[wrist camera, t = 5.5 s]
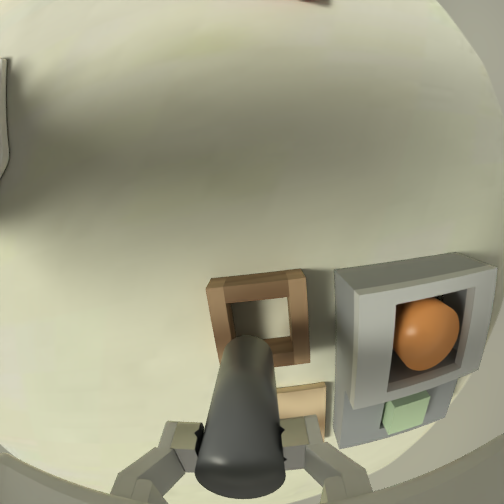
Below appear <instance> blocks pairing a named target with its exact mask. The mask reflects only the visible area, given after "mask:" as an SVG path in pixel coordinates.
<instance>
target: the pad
mask: <svg viewBox="0 0 504 504" xmlns="http://www.w3.org/2000/svg"><path fill="white" fill-rule="evenodd" d="M276 390H277V399H278V408H279V417H280V419H283V418H292V417H299V416H303V417H304V416H307V415H314V414H316V415H317V419H318V423H319V427H320V431H321V435H322V439H323V442H324V435H325V412H326V385H325V382H321V383H314V384H307V385H300V386H292V387H284V388H276Z"/></svg>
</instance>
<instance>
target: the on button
mask: <svg viewBox="0 0 504 504" xmlns="http://www.w3.org/2000/svg"><path fill="white" fill-rule="evenodd" d="M430 397H431V396H430V395H429V394H428V392H427V391H426V390H425V391H422V392H419V393H416V394H412V395H409V396H406V397H403V398H399V399H396V400H392V401H388V402H385V403H384V408H383V413H382V418H381V421H382V423H383V425H384V427H385V429H386V431H387V433H388V435H390V434H393V433H396V432H400V431H403V430H406V429H409V428H412V427H415V426H418V425H421V424H422V423H423V420H424V417H425V414H426V410H427V407H428V404H429V400H430Z"/></svg>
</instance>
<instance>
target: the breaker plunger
mask: <svg viewBox="0 0 504 504" xmlns="http://www.w3.org/2000/svg"><path fill="white" fill-rule="evenodd" d="M458 333H459V318H458V316H457V313H456V312H455V311H454V310H453V309H452V308H451V307H449V306H448V305H446V304H444V303H443V302H441V301H440V300H438V299H437V298H435V297H430V298H425V299H421V300H416V301H411V302H406V303H401V304H397V305H396V315H395V328H394V340H393V350H394V351H395V352H396V353H397V355H398V356H399V357H400V358H401V360H402V361H403V362H404V363H405V365H406V366H407V367H408V368H410V369H412V370H416V371H422V370H427V369H429V368H432V367H434V366H435V365H437V364H438V363H440V362H441V361H442V360H443V359H444V358H445V357H446V356H447V355H448V354H449V352H450V351H451V349H452V348H453V346H454V344H455V342H456V340H457V337H458Z"/></svg>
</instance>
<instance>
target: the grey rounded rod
mask: <svg viewBox="0 0 504 504" xmlns="http://www.w3.org/2000/svg"><path fill="white" fill-rule="evenodd" d="M195 476H196V479H197V480H198V482H199V483H200V484H201V485H202V486H203V487H204V488H206V489H207V490H209V491H211V492H213V493H215V494H218V495H221V496H224V497H228V498H235V499H252V498H258V497H262V496H266V495H268V494H270V493H273V492H274V491H276V490H277V489H279V488H280V487H281V486H282V484H283V483H284V481H285V477H286V475H285V465H284V457H283V452H282V440H281V432H280V417H279V408H278V399H277V390H276V381H275V372H274V363H273V354H272V350H271V348H270V347H269V345H268V344H267V343H266V342H265V341H264V340H262V339H260V338H258V337H255V336H250V335H245V336H239V337H236V338H234V339H233V340H231V341H230V342H229V343H228V344H227V345H226V347H225V349H224V351H223V355H222V359H221V364H220V368H219V372H218V376H217V380H216V384H215V388H214V392H213V396H212V401H211V405H210V409H209V413H208V417H207V421H206V425H205V429H204V434H203V438H202V442H201V446H200V450H199V454H198V458H197V463H196V467H195Z"/></svg>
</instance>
